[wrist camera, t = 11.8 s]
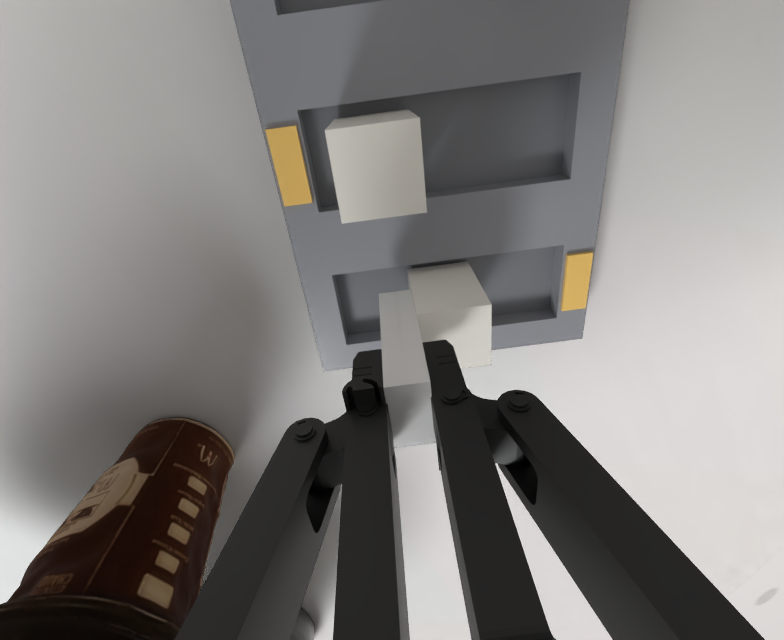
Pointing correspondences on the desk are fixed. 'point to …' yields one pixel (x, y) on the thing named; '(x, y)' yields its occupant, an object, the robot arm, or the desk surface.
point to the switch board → (443, 150)
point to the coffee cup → (129, 544)
